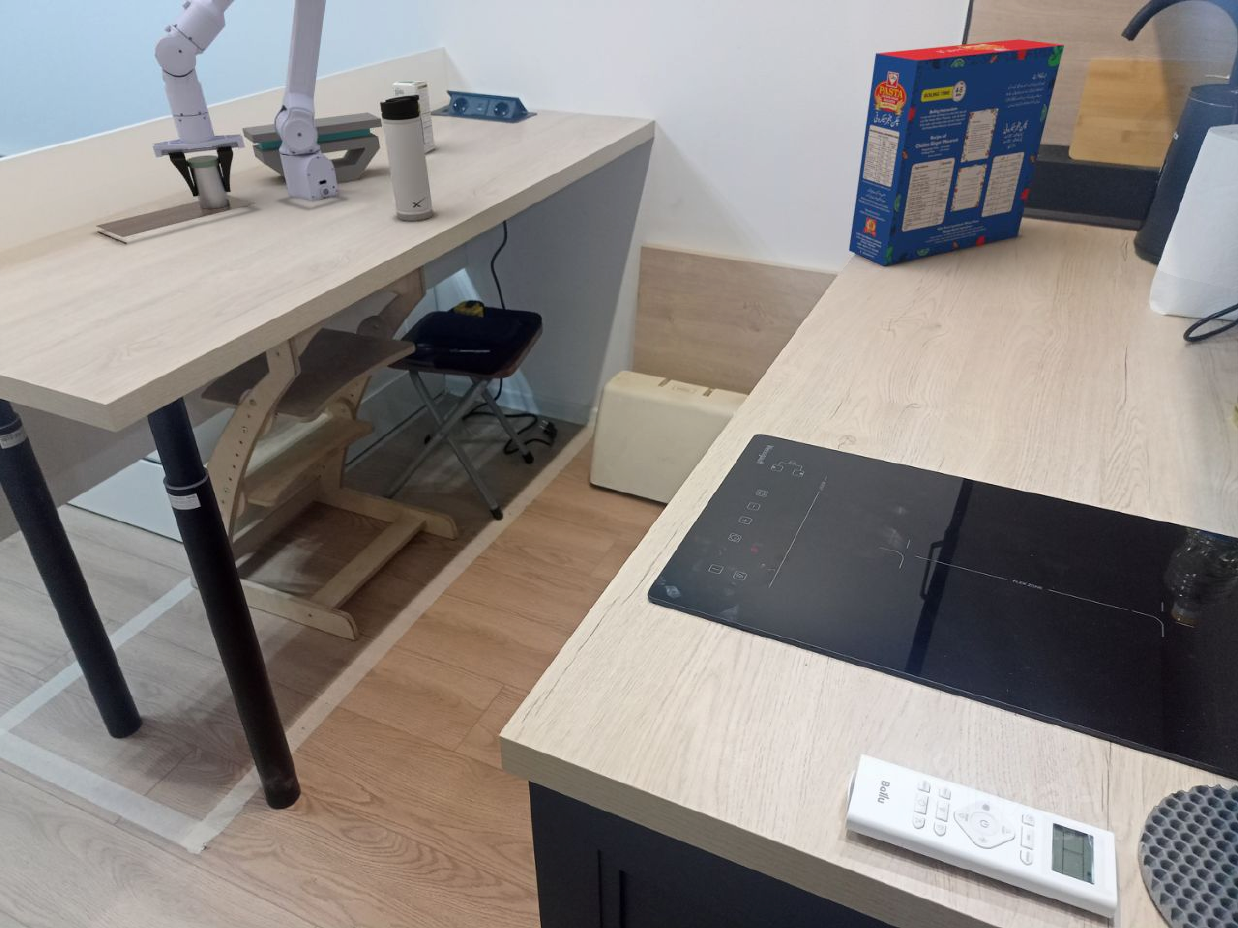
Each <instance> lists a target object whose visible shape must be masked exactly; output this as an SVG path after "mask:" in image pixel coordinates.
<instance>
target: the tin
mask: <svg viewBox="0 0 1238 928" xmlns="http://www.w3.org/2000/svg"><path fill="white" fill-rule="evenodd" d="M186 161H187V165H188V168H189V172H190V176H191V179H192V181H193V184H194V187H195V189H196V193H197V196H196V197H197V201H199V204H200V207H201V208H204V209H214V208H221V207H224V206H227V205H229V203H230V202H229V199H228V195H229V194H228V192H227V191H226V188H225V183H224V180H223V174H222V169H221V166H220V161H219V157H218V155H213V154H212V155H211V154H207V155H197V156H192V157H190V158H188V159H187V158H186Z"/></svg>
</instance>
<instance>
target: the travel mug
mask: <svg viewBox="0 0 1238 928" xmlns="http://www.w3.org/2000/svg"><path fill="white" fill-rule="evenodd" d="M418 100H419V95H411V96H402V97H396V98H394V97H392V98H388V99H385V100H384V101H380V102H379V107H380V112H381V122H382V128H383V134H384V140H385V141H384V142H385V146H386V147H385V149H386V153H387V159H388V165H389V166H388V167H389V173H390V177H391V178H390V179H391V185H392V192H393V198H394V205H395V210H396V218H397V219H399V220H401V221H406V222H417V221H418V222H419V221H424V220H427V219H430V218H431V217H432V216H433V215H434V211H433V201H432V194H431V187H430V180H429V172H428V166H427V165H428V164H427V157H426V153H425V149H424V142H423V134H422V127H421V121H420V114H419V111H418V110H419V107H418Z"/></svg>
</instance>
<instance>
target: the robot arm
mask: <svg viewBox="0 0 1238 928" xmlns="http://www.w3.org/2000/svg"><path fill="white" fill-rule="evenodd" d="M294 1H295V2H294V10H293V18H292V27H291V36H290V45H289V53H288V54H289V55H288V64H287V74H286V81H285V89H284V92H283V95H282V99H281V106H280V108H279V111H278V112H276V114H275V116H274V120H273V124H274V127H275V131H276V133H277V134H278V136H279V137H280V138H281V139H282V141H283V142H282V145H281V147H280V148H279V152H280V157H281V161H282V166H283V170H284V175H285V177H284V179H285V183H286V188H287V192H288V196H289V197H290V198H293V199H299V200H300V199H301V200H305V201H308V202H316V201H320V200H324V199H327V198H330V197H334V196H338V195H340V191H339V186H338V185H339V184H338V183H337V180H336V175H335V170H334V166H333V164H332V162H331V161H330V159H331V158H329V157H327V156H326V155H324V153H322V152H321V150H320V145H319V144H318V143H316V142H317V138H318V134H317V130H316V127H315V123H314V119H315V115H316V109H315V92H316V91H315V90H316V83H317V77H318V67H319V60H320V59H319V58H320V52H321V51H320V50H321V43H322V36H323V26H324V18H325V10H326V3H327V2H326V1H327V0H294ZM233 2H235V0H190V1H189V0H184V1H183V2H182V4H181V6H182V8H183V10H182V12H181V13H179V15H178V16H177V17H176V19H175V20H174V21H173V22H172V24H171V25H170V24H166V26H165V27H164V28H163V29H164V31H165V32H166V33H167V34H166V35H162V36H160V37H159V38H158V39H157V40H156V42H155V45H154V57H155V60H156V61H157V63H158V65H159V66H160V67H161V77H162V80H163V82H164V90H165V94H166V97H167V101H168V104H169V107H170V108H169V109H170V111H171V115H172V119H173V121H174V125H175V129H176V133H177V136H178V139H173V140H168V141H167V140H166V141H161V142H155V143H154V142H153V143H151V145H152V149H153V152H154V156H155V158H162V157H163V156H168V157H169V160H170V163H172V165H173V166H174V167H175V169H177V171H178V172H179V174H180V175H181V176H182V179H184V181H185V182H186V184H187V186H188V188H189V189H190V192H191V194H192V197H193V198H196V197H197V193H196V189H195V186H194V183H193V179H192V176H191V172H190V168H189V167H188V165H187V158H186V154H191V153H199V152H209V151H216V154H217V155H216V156H218V157H219V161H220V168H221V172H222V176H223V180H224V183H225V188H226V191H227V193H232V190H231V169H232V164H233V158H234V150H233V149H234V148H238V149H243V148H246V146H245V143H244V138H243V135H242V134H241V133H240V134H225V135H215V132H214V129H213V124H212V120H211V117H210V113H209V110H208V104H207V102H206V98H205V94H204V90H203V86H202V83H201V82H200V81H199V77H198V73H197V70H196V66H197V56H198V55H202V54H204V53H205V51H206V50H207V49H208V48H209V46H211V44H212V43H213V41H214V40H215V39H216V38H217V36H218V35H219V34H220V33H221V32H222V30H223V29H224V28H225V27H226V19H225V12H226V11H227V10H228V8H229V7H230V6H231V5H232V4H233Z"/></svg>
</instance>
